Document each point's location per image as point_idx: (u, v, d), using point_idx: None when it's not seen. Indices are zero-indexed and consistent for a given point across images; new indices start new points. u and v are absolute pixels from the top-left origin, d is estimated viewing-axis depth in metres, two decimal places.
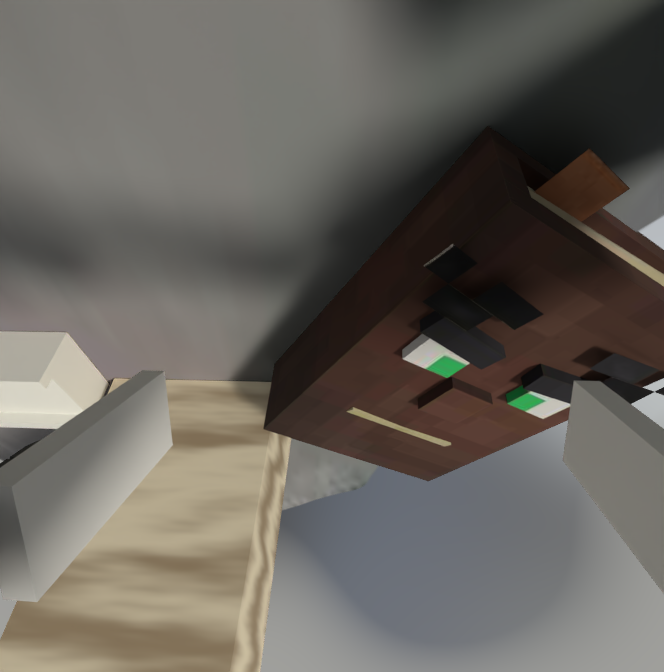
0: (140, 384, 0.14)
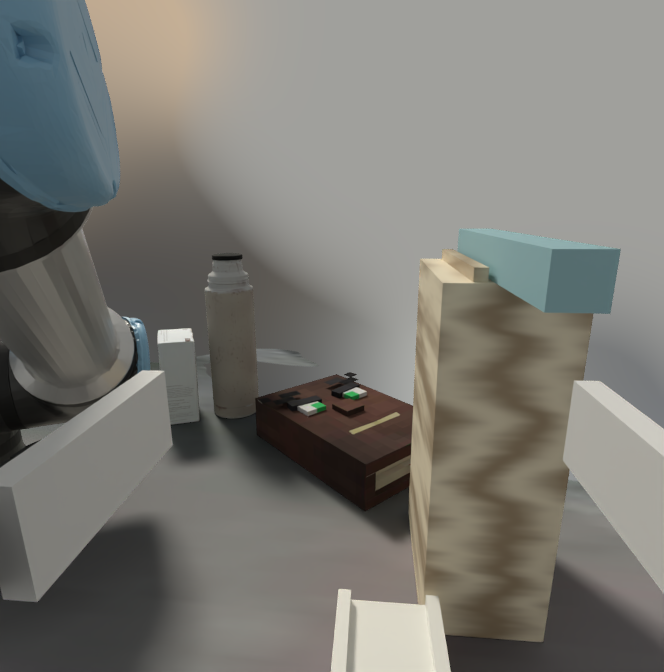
0: (140, 384, 0.14)
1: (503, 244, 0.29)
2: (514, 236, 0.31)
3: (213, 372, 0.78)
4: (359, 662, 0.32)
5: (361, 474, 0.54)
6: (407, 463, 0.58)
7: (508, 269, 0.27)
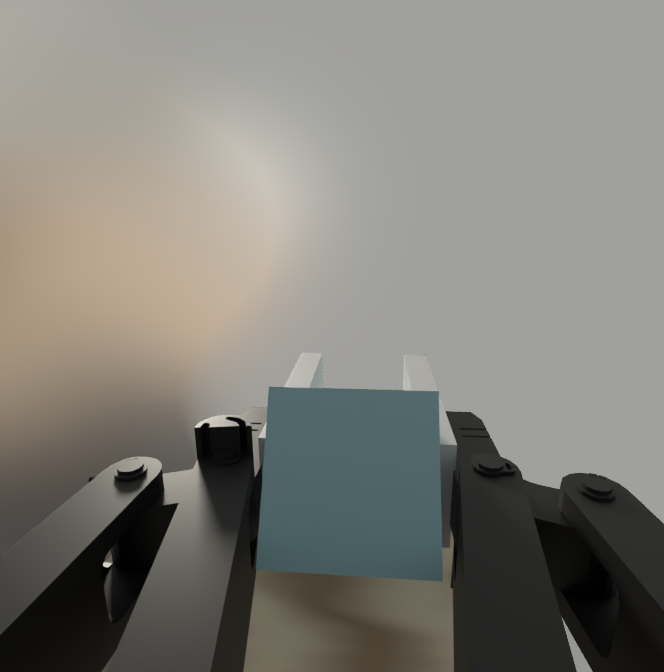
0: (312, 363, 0.15)
1: None
2: None
3: None
4: None
5: None
6: None
7: None
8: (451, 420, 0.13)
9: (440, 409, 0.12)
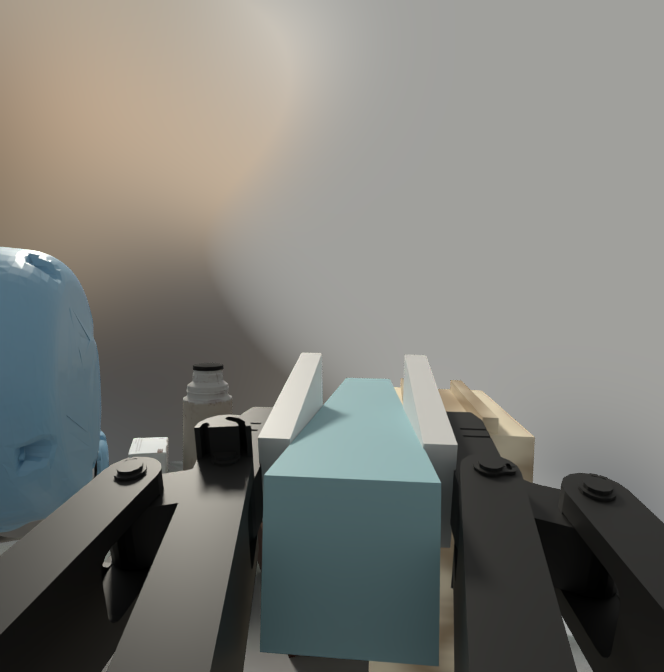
0: (312, 363, 0.15)
1: None
2: (358, 402, 0.18)
3: None
4: None
5: None
6: None
7: None
8: (451, 420, 0.13)
9: (440, 409, 0.12)
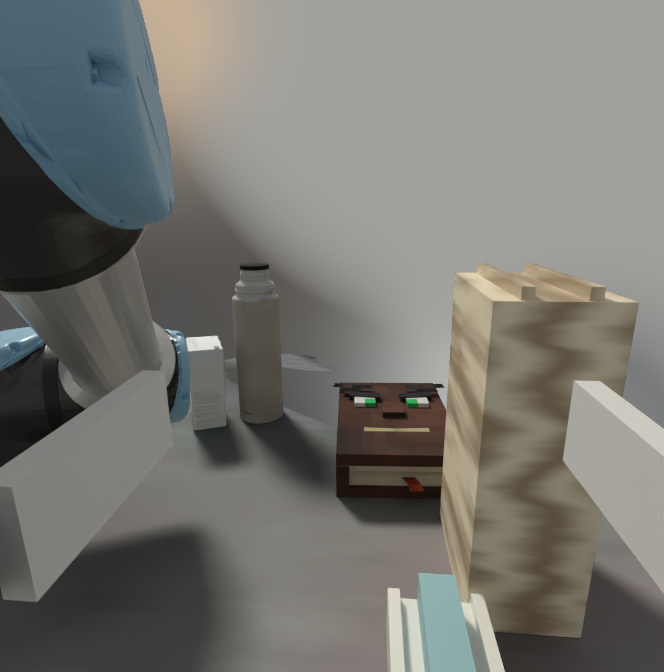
0: (140, 384, 0.14)
1: None
2: None
3: (240, 378, 0.80)
4: (414, 656, 0.34)
5: None
6: (395, 474, 0.59)
7: None
8: None
9: None
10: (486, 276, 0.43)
